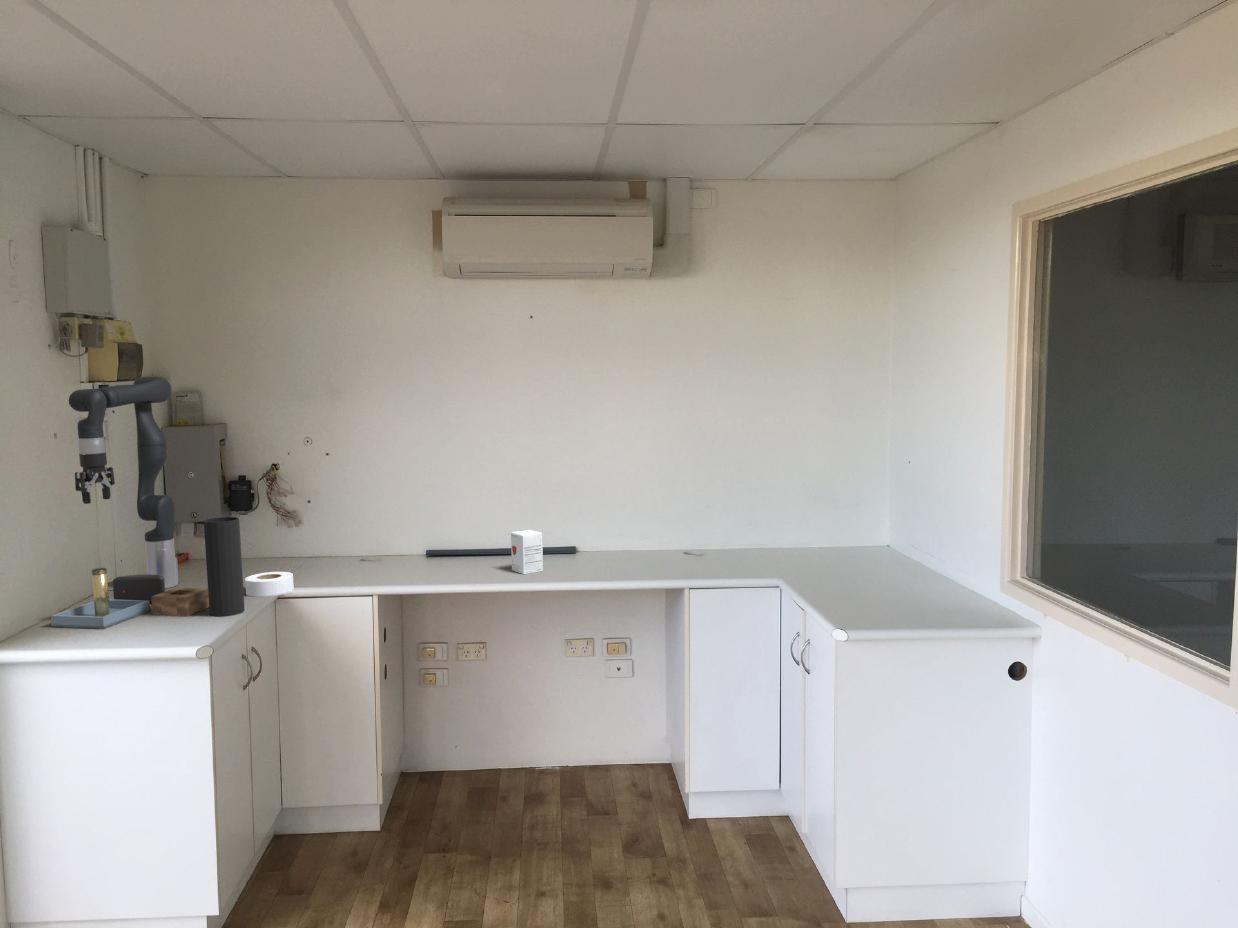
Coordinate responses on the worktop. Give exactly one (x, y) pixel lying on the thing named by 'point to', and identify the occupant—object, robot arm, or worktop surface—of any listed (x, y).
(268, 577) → the roll of tape
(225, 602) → the vase
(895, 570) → the worktop surface
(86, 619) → the slate tray
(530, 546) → the supplement box
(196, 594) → the walnut pin block
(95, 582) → the brass pin
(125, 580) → the red-dot charcoal box
